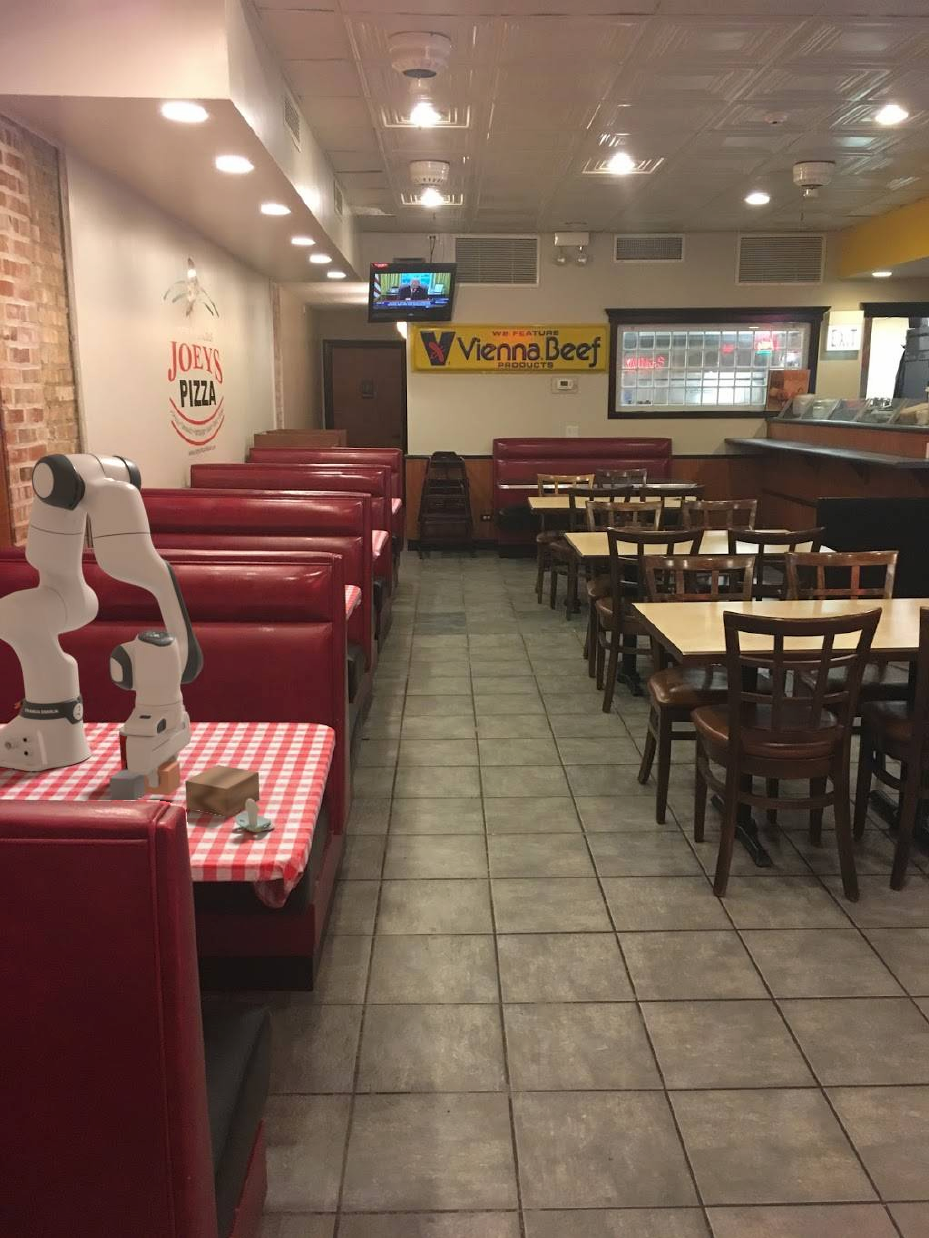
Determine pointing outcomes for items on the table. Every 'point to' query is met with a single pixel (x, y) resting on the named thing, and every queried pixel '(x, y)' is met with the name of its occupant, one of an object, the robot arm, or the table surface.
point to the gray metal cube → (127, 786)
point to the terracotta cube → (165, 779)
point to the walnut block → (222, 790)
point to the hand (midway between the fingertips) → (162, 780)
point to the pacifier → (253, 818)
